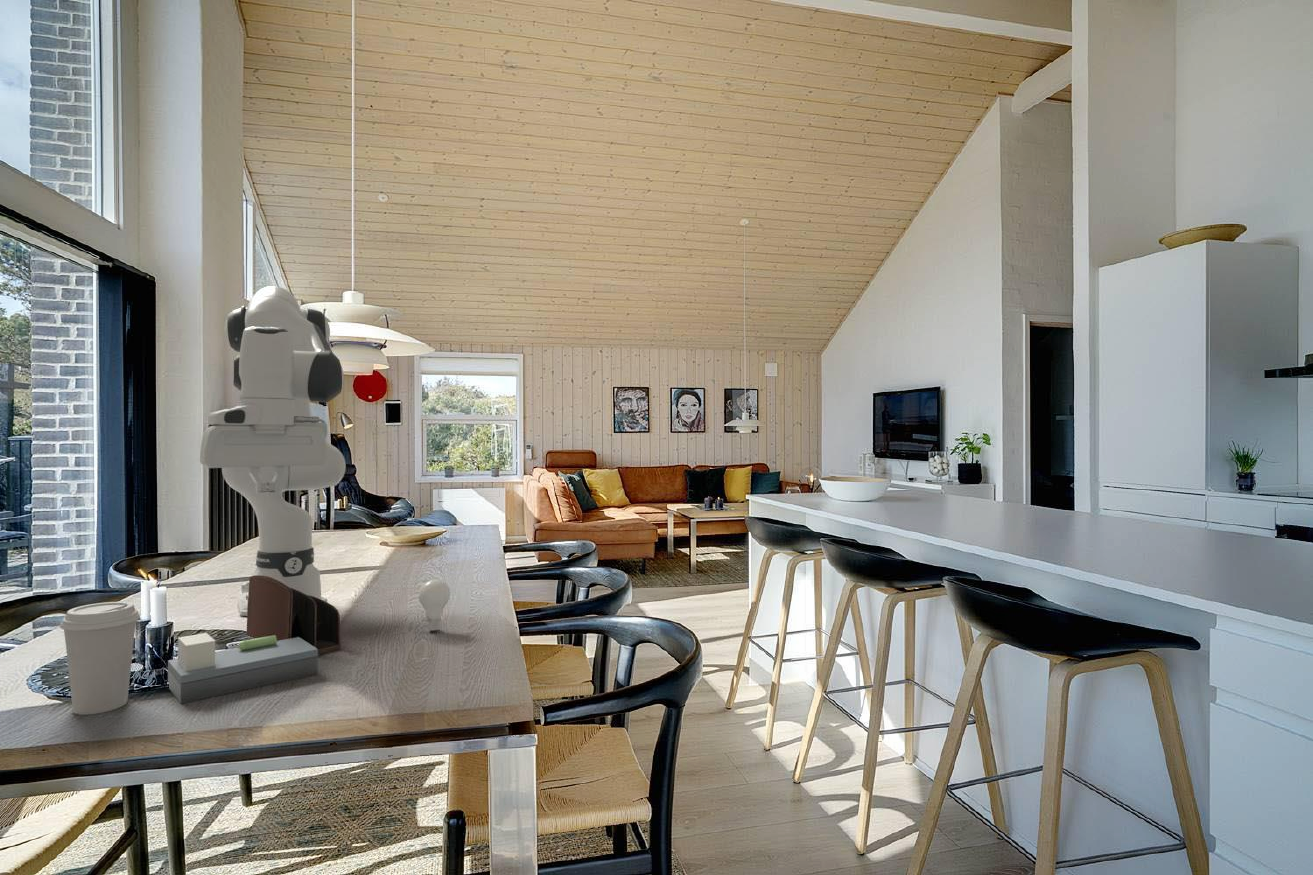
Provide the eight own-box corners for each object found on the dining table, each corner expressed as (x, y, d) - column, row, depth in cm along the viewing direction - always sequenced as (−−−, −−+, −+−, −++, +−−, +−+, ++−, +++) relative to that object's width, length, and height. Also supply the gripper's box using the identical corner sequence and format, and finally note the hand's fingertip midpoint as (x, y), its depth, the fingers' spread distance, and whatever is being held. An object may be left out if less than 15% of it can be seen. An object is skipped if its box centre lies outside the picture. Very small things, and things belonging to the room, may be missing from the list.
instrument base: (167, 686, 115) (167, 668, 115) (298, 660, 129) (298, 643, 129) (180, 703, 108) (180, 684, 108) (317, 673, 122) (317, 656, 122)
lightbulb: (411, 633, 147) (412, 581, 147) (432, 626, 153) (432, 575, 153) (436, 637, 145) (436, 583, 145) (456, 629, 151) (456, 577, 150)
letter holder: (287, 662, 128) (287, 585, 128) (245, 641, 141) (245, 571, 141) (341, 650, 136) (341, 577, 136) (297, 631, 149) (297, 564, 149)
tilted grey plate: (167, 667, 115) (168, 636, 115) (298, 643, 129) (298, 615, 129) (180, 683, 108) (180, 649, 108) (317, 656, 122) (318, 626, 122)
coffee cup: (74, 724, 100) (75, 619, 100) (48, 709, 105) (49, 609, 105) (151, 702, 108) (151, 605, 108) (123, 690, 114) (123, 597, 113)
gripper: (321, 417, 137) (321, 488, 137) (197, 414, 122) (197, 493, 122) (333, 416, 132) (332, 490, 132) (206, 413, 118) (205, 496, 118)
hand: (266, 492), depth 127 cm, fingers closed
